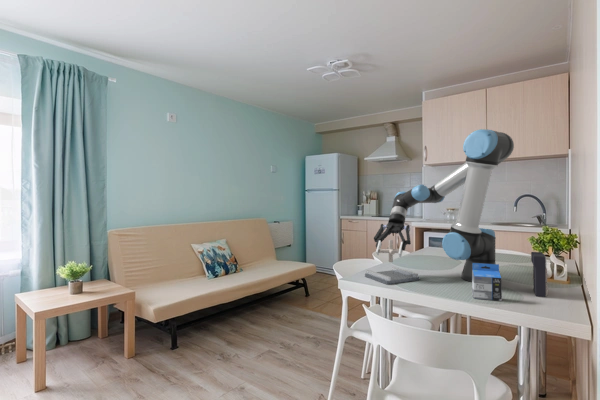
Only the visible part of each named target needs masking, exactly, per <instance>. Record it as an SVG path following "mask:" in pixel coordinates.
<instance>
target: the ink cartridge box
mask: <svg viewBox="0 0 600 400" xmlns="http://www.w3.org/2000/svg"><path fill="white" fill-rule="evenodd" d="M472 265H473V266H472V267H473V270H472V282H471V295H472V297H473V299H475V300H476V299H477V300H488V301H489V300H490V301H500V302H502V300H503V299H502V297H503V292H502V290H503V289H502V288H503V287H502V284H503V281H502V280H503V279H502V275H501V273H500V272H501V271H500V264H499V263H498V264H497V263H496V264H482V263H472ZM485 266H487V267H490V269H485V268H481V267H485Z"/></svg>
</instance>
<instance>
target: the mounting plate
mask: <svg viewBox="0 0 600 400" xmlns="http://www.w3.org/2000/svg"><path fill="white" fill-rule="evenodd" d="M364 277H365V278H368V279H371V280H373V281H376V282H379V283H381V284H384V285H393V284H401V283H408V282H414V281H415V282H416V281H420V276H419V273H417V272H413V271H409V270H406V269H403V268H399V267H396V266H393V267H392V269H390V270H384V271H383V270H382V271H373V270H371V269H366V273H364Z"/></svg>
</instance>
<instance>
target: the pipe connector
mask: <svg viewBox="0 0 600 400" xmlns="http://www.w3.org/2000/svg"><path fill="white" fill-rule="evenodd" d="M393 243H394V241H393V239H388V247H387V248H381V249H379V254H388V263H393V262H394V260H393V259H394V258H393V257H394V256H393V255H395V254H398V253H399V248H394V247H393Z"/></svg>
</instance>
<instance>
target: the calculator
mask: <svg viewBox="0 0 600 400" xmlns="http://www.w3.org/2000/svg"><path fill="white" fill-rule="evenodd" d="M530 252H531V253H530V254H531V256H530V257H531V259H530V260H531V263H532V265H533V266H532V267H533V268H532V269H533V270H532V271H533V272H532V273H533V274H532V275H533V282H532V285H533V286H532V287H533V292H534V295H535V296H536V297H539V298H546V297H547V296H548V289H549V288H548V275H549V274H548V268H547V257H546V255H545V253H543V252H542V251H541V252H540V251H530Z"/></svg>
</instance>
